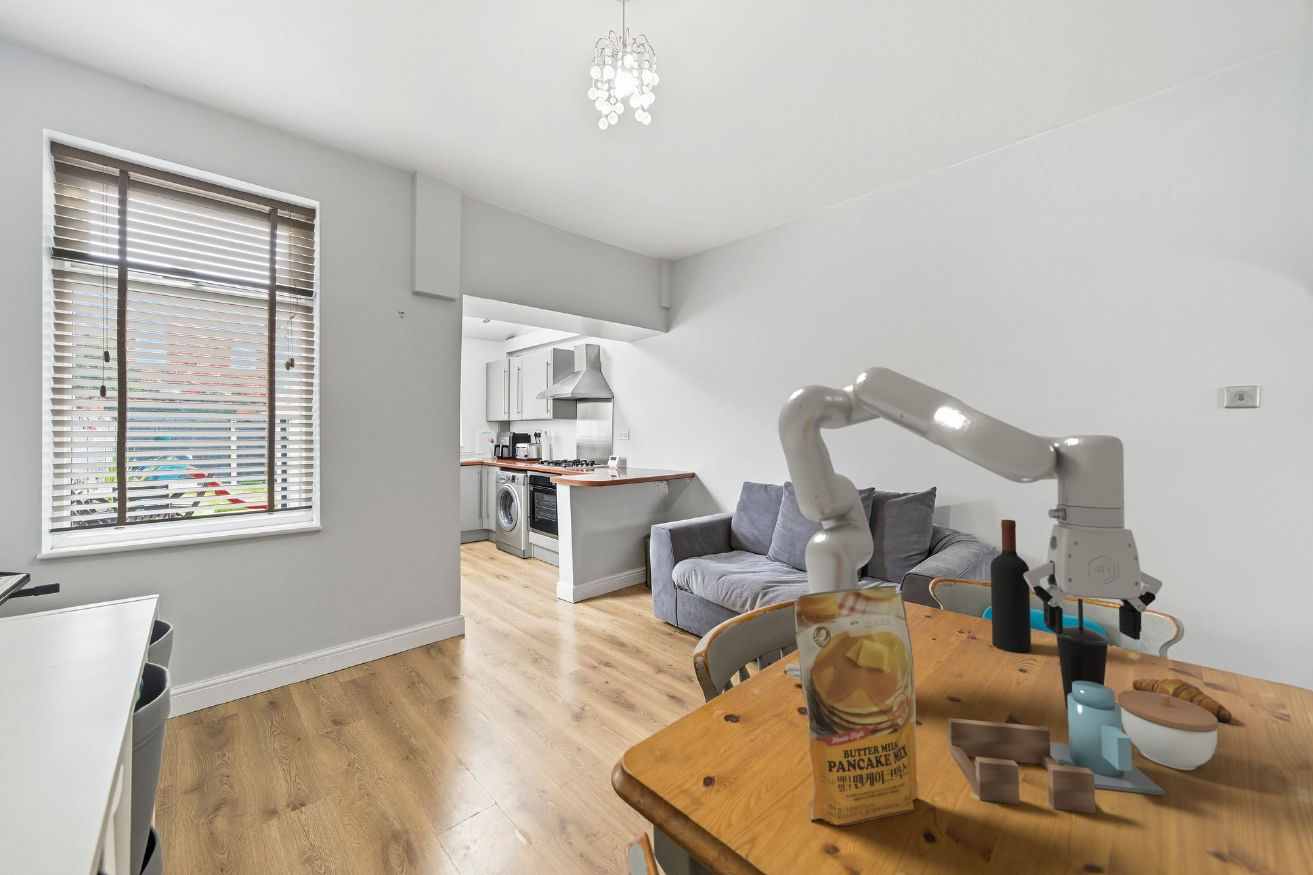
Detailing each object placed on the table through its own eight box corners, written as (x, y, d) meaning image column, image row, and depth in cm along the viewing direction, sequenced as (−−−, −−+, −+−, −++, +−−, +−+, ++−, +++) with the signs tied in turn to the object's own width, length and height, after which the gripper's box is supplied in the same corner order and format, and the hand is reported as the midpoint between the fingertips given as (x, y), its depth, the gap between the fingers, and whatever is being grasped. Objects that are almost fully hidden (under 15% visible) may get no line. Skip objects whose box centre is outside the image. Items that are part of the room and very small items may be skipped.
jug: (1100, 789, 69) (1097, 707, 69) (1060, 749, 78) (1058, 677, 78) (1152, 794, 68) (1148, 711, 68) (1105, 753, 77) (1102, 680, 77)
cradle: (980, 799, 68) (979, 761, 68) (948, 750, 79) (948, 717, 79) (1095, 813, 65) (1094, 774, 65) (1046, 760, 76) (1045, 726, 76)
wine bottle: (984, 643, 123) (981, 519, 124) (1007, 639, 125) (1005, 517, 126) (1015, 655, 116) (1011, 523, 116) (1039, 650, 118) (1035, 521, 119)
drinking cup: (1123, 725, 86) (1119, 606, 86) (1071, 721, 87) (1068, 604, 88) (1094, 703, 93) (1091, 594, 94) (1047, 699, 95) (1044, 592, 95)
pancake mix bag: (783, 799, 68) (780, 589, 69) (903, 776, 73) (899, 580, 73) (809, 836, 61) (806, 604, 62) (940, 808, 66) (936, 593, 67)
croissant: (1242, 721, 87) (1241, 692, 87) (1220, 729, 85) (1219, 698, 85) (1144, 687, 100) (1144, 661, 100) (1123, 692, 98) (1122, 666, 98)
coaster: (1079, 786, 70) (1079, 781, 70) (1040, 745, 80) (1040, 741, 80) (1164, 795, 68) (1164, 791, 68) (1113, 752, 78) (1113, 748, 78)
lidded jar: (1117, 730, 84) (1115, 673, 85) (1211, 754, 78) (1209, 692, 78) (1122, 761, 76) (1120, 697, 76) (1228, 791, 69) (1225, 721, 70)
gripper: (1038, 519, 73) (1039, 638, 73) (1179, 523, 70) (1181, 648, 70) (1012, 512, 81) (1013, 620, 80) (1139, 516, 77) (1141, 629, 77)
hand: (1091, 633), depth 75 cm, fingers open, 9 cm apart
